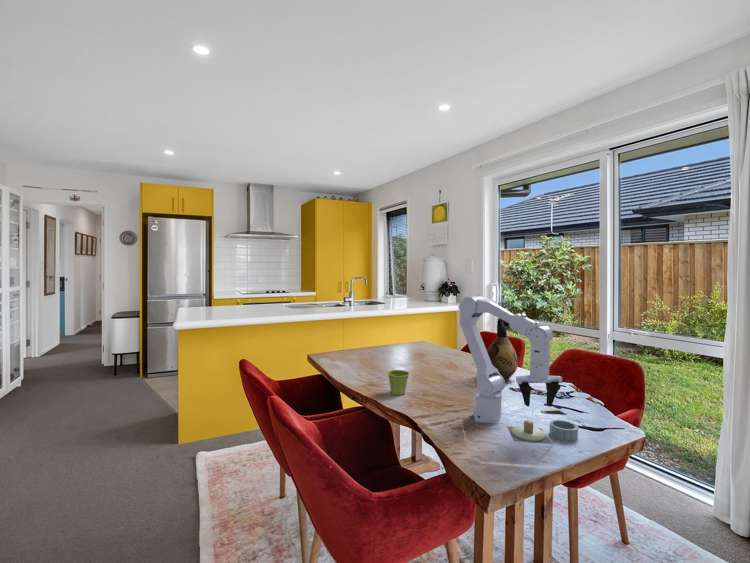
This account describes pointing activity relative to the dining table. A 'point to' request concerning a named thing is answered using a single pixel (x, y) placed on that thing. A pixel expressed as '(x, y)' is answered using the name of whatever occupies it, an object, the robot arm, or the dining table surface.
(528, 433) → the lid
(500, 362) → the ceramic jug
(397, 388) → the plant pot
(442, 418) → the dining table surface
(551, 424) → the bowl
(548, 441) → the mat
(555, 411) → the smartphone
